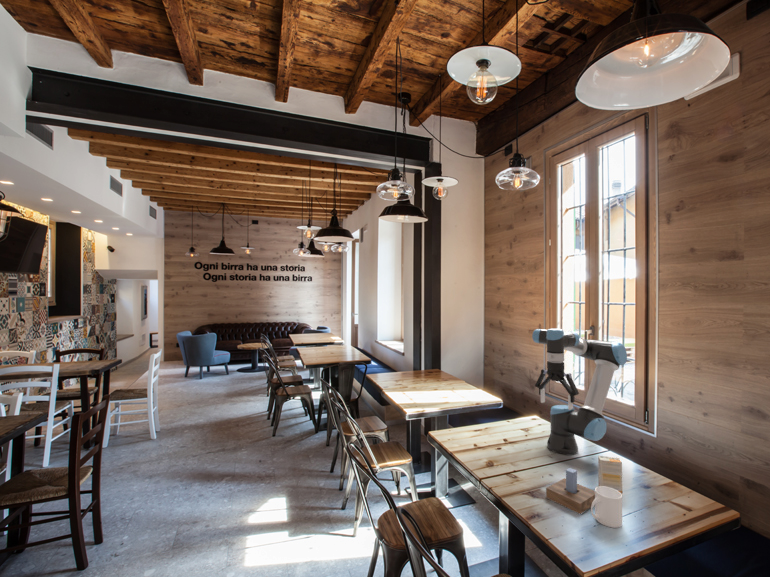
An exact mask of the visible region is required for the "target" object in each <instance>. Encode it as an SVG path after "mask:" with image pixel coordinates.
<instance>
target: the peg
mask: <svg viewBox="0 0 770 577" xmlns="http://www.w3.org/2000/svg"><path fill="white" fill-rule="evenodd" d="M565 479H566V491H568V492H570V493H573V494H576V493H577V484H578V470H577V469H575V468H572V467H569V468H567V469H565Z"/></svg>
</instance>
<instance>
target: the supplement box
mask: <svg viewBox="0 0 770 577" xmlns="http://www.w3.org/2000/svg"><path fill="white" fill-rule="evenodd" d="M597 459H598V460H597V464H598V465H597V466H598V468H597V469H598V470H597V471H598V475H597V476H598V486H605V487H610V488H613V489H615V490H617V491H619V492H620V493H621V494H623V463H622V460H621V459H620V458H618V457H614V456H613V457H612V456H603V455H598V456H597Z"/></svg>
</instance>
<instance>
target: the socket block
mask: <svg viewBox="0 0 770 577" xmlns="http://www.w3.org/2000/svg"><path fill="white" fill-rule="evenodd" d="M545 496H546V497H545V499H546V498H547V499H549V501H552V502H554V503H557V504H558V505H561V506H563V507H565V508H566V509H569V510H570V511H573V512H575V513H576V514H577V513H578V514H579V515H582V514H583V513H585V512H586V511H588V510H589V509H591V505H592V502H593V500H594V499H595V490H593V489H591V488H588V487H586V486H584V485H582V484H580V483H577V493H576V494H573V493H570V492H568V491H566V477H564V478H562V479H560V480H557V481H556V482H554V483H552V484H551V485H549V486H547V487H546V488H545Z"/></svg>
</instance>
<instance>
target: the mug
mask: <svg viewBox="0 0 770 577" xmlns="http://www.w3.org/2000/svg"><path fill="white" fill-rule="evenodd" d="M594 491H595V499H594V500H593V502H592V505H591V508H590V512H591V516H592V517H593V519H595V520H597V522H598V523H600V524H601V525H603V526H605V527H609V528H613V529H617V528H620V527H622V526H623V493H620V492H619V491H617V490H615V489H613V488H610V487H605V486H599V485H598V486H595V488H594ZM593 508H594V512H593Z"/></svg>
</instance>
